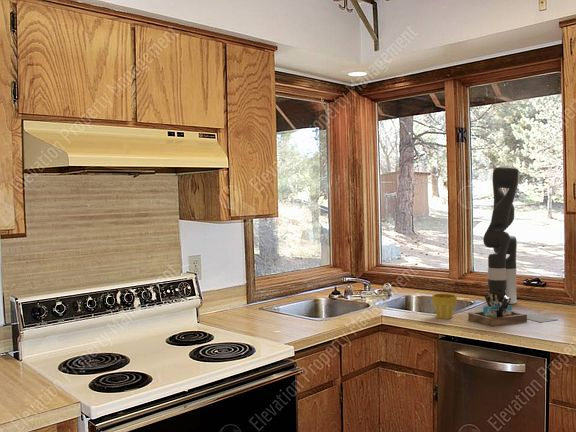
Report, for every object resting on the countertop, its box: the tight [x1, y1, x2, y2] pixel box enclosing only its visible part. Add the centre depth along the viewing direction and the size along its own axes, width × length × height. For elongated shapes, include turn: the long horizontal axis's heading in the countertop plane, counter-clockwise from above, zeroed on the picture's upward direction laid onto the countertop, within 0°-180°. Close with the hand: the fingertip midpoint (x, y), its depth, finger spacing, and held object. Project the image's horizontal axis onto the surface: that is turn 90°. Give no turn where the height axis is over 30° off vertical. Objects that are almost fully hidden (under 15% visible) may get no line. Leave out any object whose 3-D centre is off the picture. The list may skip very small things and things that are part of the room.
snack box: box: [482, 304, 513, 318], centre depth 237 cm, size 12×2×6 cm, turn 96°
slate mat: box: [526, 312, 559, 323], centre depth 240 cm, size 14×10×1 cm
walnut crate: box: [467, 310, 528, 327], centre depth 237 cm, size 14×19×3 cm
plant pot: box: [431, 292, 458, 320], centre depth 245 cm, size 10×10×10 cm
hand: (497, 318), depth 237 cm, fingers closed on snack box, 2 cm apart
